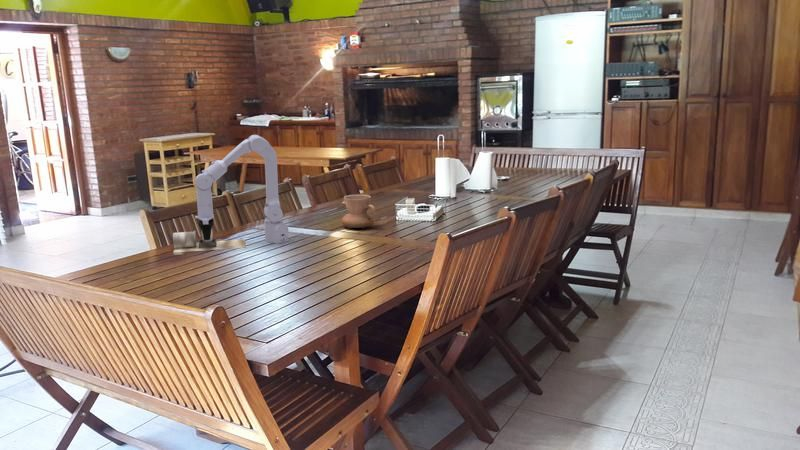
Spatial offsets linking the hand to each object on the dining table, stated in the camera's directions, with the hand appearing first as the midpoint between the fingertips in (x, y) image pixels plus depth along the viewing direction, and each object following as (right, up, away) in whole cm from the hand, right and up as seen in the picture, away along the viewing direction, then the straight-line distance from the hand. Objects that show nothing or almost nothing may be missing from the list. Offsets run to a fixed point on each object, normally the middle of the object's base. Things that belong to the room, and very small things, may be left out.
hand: (207, 238), depth 250 cm
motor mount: (+2, -4, +1) cm, 4 cm away
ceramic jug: (+57, +4, +37) cm, 68 cm away
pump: (0, -1, 0) cm, 1 cm away
